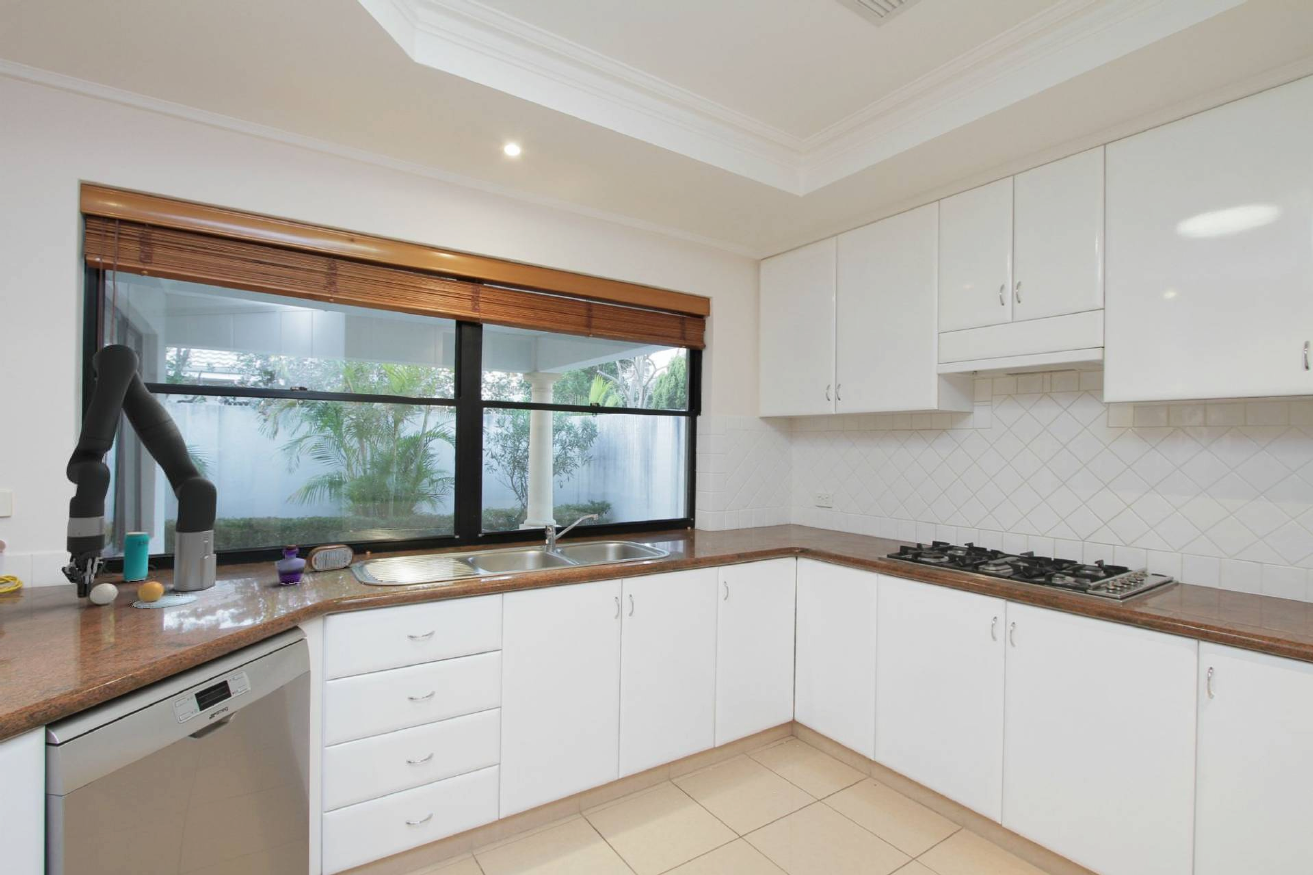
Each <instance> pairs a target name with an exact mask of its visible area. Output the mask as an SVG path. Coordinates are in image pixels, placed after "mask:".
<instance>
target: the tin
mask: <svg viewBox="0 0 1313 875" xmlns="http://www.w3.org/2000/svg"><path fill="white" fill-rule="evenodd" d="M354 558H355V552H354V550H353V549H352V548H351V547H349V546H348V545H346V544H335V545H333V544H332V545H323V546H318V547H317V546H316V548H313V549H312V550H311V551H310V552H309V553H308V555H307V557H306V565H307V566H308V568H309V569H310V570H312V569H313V571H315V570H318V569H328V568H331V567H341V566H344V565H349V566H351V564H352V563H353V561H354Z"/></svg>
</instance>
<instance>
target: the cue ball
mask: <svg viewBox="0 0 1313 875" xmlns="http://www.w3.org/2000/svg"><path fill="white" fill-rule="evenodd" d="M117 595H118V589H117V587H116V586H115V585H114V584H111V583H105V582H104V583H100V584H97V585H96V586H94V587H93V588H91V593H90V596H89V598H90V600H91V602H92V603H94V604H96V605H107V604H110V603H112V602H113V601H114V600H115V599H116V598H117Z"/></svg>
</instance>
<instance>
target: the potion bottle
mask: <svg viewBox="0 0 1313 875" xmlns="http://www.w3.org/2000/svg"><path fill="white" fill-rule="evenodd" d="M299 550H300V549H299V548H297V545H296V544H287V545H285V546H284V549H282V554H283V556H284V555H285V557H284V559H280V560H277V561H274V564H275V565H274V566H275V571H276V572H277V576H278V580H279V583H280V582H281V583H285V584H289V583H294V582H300V581H301V577H302V574H304V572H305V569H306V566H305V565H306V564H307V559H306V560H305V559H303V558H299V557H298V558H297V554H299Z"/></svg>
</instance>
